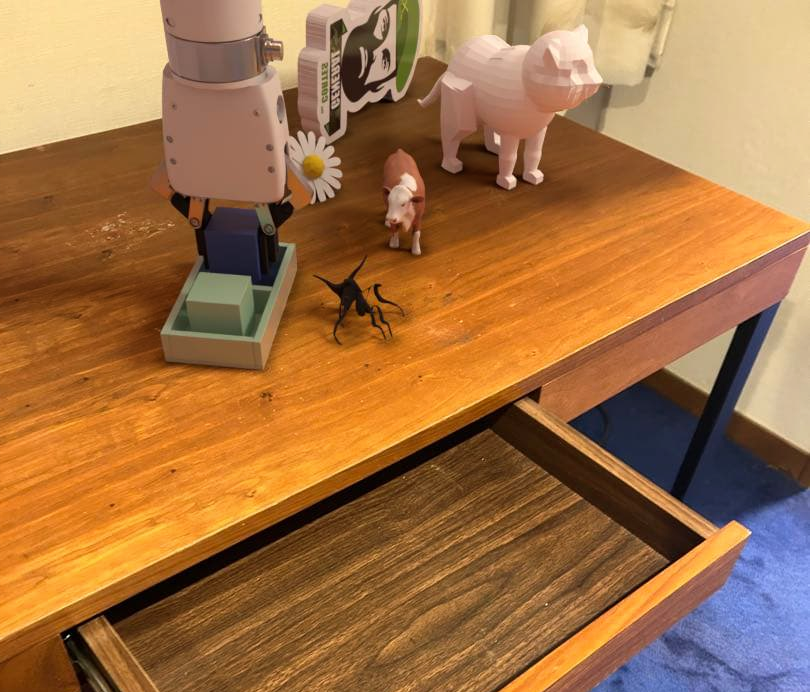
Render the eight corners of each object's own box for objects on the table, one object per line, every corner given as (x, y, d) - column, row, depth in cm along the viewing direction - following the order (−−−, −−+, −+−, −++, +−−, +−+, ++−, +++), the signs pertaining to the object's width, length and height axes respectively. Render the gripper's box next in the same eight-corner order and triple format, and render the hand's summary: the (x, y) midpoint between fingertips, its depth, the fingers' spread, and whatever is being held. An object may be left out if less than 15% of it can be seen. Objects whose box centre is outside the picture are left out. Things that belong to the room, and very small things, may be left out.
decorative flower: (200, 121, 91) (341, 124, 92) (210, 144, 97) (342, 147, 98) (201, 196, 91) (341, 199, 92) (211, 214, 98) (343, 216, 98)
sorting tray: (166, 363, 74) (159, 333, 72) (212, 265, 85) (208, 236, 83) (263, 372, 74) (260, 342, 72) (297, 272, 85) (295, 243, 83)
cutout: (310, 28, 93) (423, -45, 106) (289, 23, 93) (404, -49, 107) (321, 163, 105) (422, 82, 118) (302, 157, 105) (404, 78, 119)
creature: (418, 337, 80) (367, 284, 83) (430, 293, 76) (375, 239, 78) (352, 368, 77) (300, 312, 79) (360, 324, 72) (305, 266, 75)
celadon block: (193, 346, 75) (185, 300, 72) (206, 316, 78) (199, 271, 75) (244, 350, 75) (239, 304, 72) (255, 321, 78) (251, 275, 75)
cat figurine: (385, 149, 104) (388, -7, 92) (442, 125, 110) (452, -25, 97) (549, 223, 93) (578, 57, 81) (603, 193, 99) (638, 33, 86)
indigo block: (210, 277, 79) (203, 230, 75) (222, 251, 82) (216, 205, 79) (259, 281, 79) (255, 235, 75) (269, 256, 82) (265, 210, 78)
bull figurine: (379, 274, 85) (380, 195, 79) (382, 209, 94) (384, 133, 88) (423, 275, 85) (427, 196, 79) (422, 210, 94) (426, 135, 88)
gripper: (331, 44, 69) (335, 252, 82) (125, 27, 69) (162, 237, 83) (316, 79, 64) (323, 294, 77) (94, 61, 64) (139, 278, 78)
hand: (240, 262), depth 80 cm, fingers closed on indigo block, 4 cm apart
